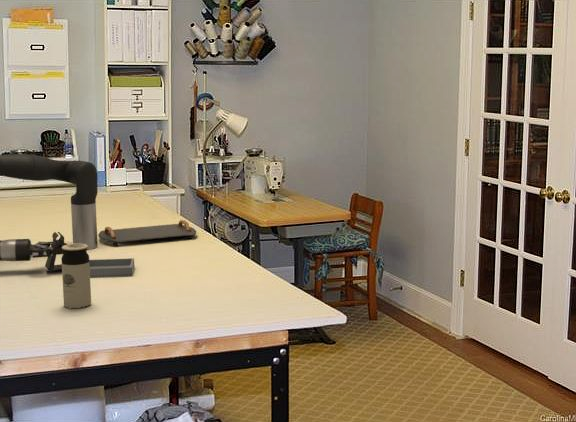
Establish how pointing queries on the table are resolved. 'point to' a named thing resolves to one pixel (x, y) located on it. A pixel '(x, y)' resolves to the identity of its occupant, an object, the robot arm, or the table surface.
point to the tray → (111, 267)
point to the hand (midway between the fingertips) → (66, 248)
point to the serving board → (147, 232)
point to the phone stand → (51, 260)
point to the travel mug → (76, 276)
